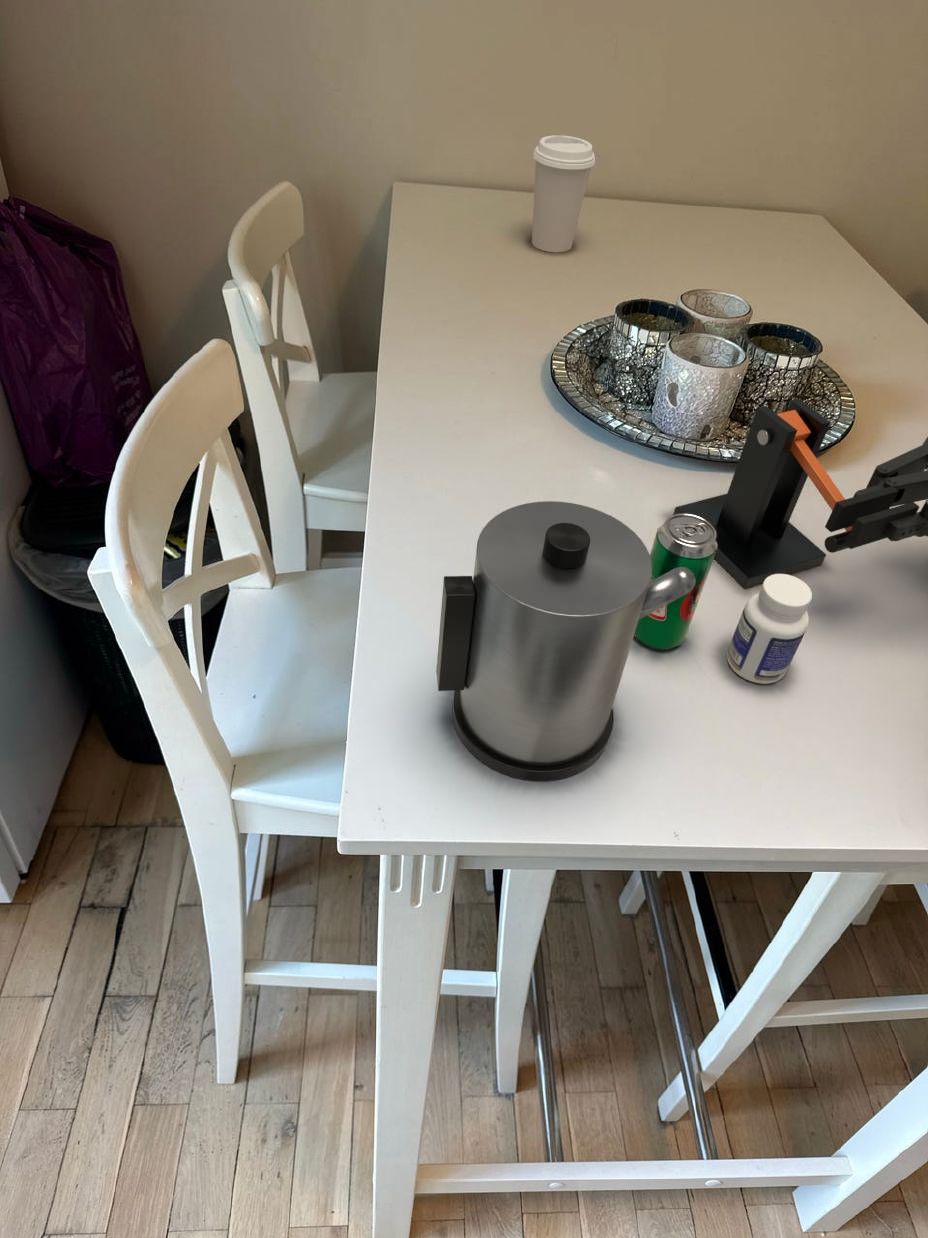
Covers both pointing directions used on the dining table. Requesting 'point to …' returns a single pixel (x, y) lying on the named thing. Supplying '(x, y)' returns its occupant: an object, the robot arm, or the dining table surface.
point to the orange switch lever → (816, 475)
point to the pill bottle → (770, 629)
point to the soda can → (673, 547)
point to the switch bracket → (764, 501)
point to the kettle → (545, 635)
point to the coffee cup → (559, 190)
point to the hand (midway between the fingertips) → (843, 525)
